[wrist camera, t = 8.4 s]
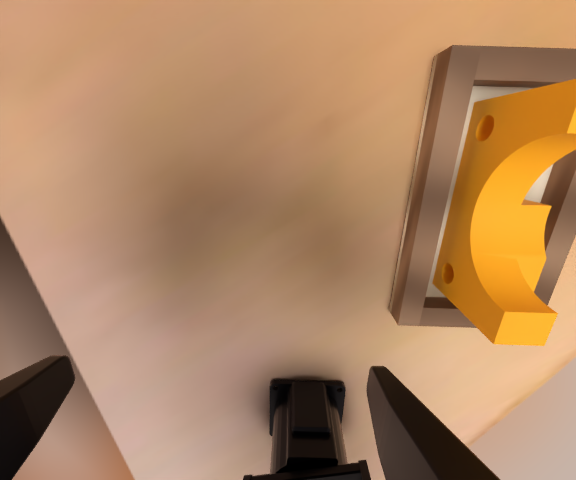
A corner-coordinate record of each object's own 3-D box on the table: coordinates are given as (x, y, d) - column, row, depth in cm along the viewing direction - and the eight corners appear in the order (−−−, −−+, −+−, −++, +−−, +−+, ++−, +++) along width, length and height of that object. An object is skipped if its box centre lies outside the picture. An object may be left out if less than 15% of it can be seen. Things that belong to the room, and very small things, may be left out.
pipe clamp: (490, 285, 20) (578, 346, 14) (432, 283, 20) (493, 343, 14) (547, 104, 16) (705, 79, 10) (474, 102, 16) (586, 76, 10)
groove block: (516, 313, 21) (537, 329, 19) (389, 309, 21) (397, 325, 19) (608, 61, 16) (649, 50, 14) (434, 56, 16) (452, 45, 14)
